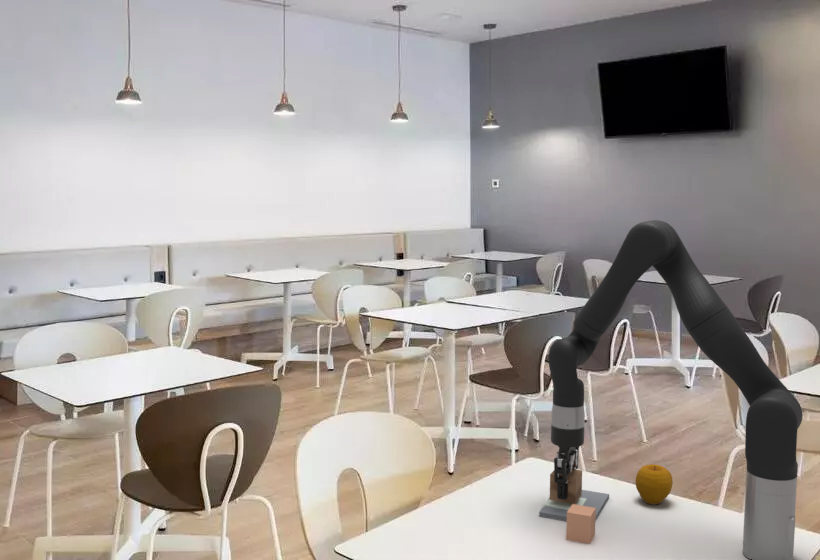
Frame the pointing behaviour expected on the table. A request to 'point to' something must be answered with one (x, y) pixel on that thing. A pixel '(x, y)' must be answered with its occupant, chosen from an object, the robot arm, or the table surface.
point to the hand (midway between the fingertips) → (565, 493)
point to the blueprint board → (587, 499)
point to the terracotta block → (581, 523)
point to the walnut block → (573, 487)
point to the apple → (653, 483)
